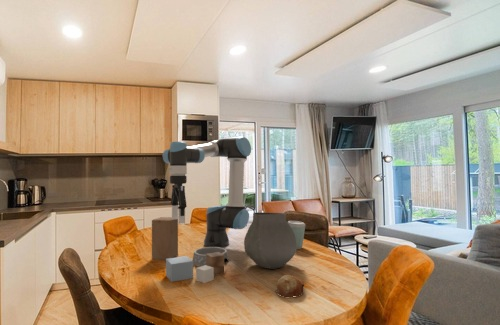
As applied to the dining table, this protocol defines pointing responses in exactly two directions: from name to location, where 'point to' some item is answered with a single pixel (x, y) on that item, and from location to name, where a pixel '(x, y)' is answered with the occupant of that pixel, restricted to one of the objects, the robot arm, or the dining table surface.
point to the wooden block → (164, 238)
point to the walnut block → (216, 262)
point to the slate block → (179, 268)
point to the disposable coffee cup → (298, 232)
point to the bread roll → (289, 286)
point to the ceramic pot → (270, 240)
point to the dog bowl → (200, 254)
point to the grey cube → (204, 273)
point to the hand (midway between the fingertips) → (178, 221)
